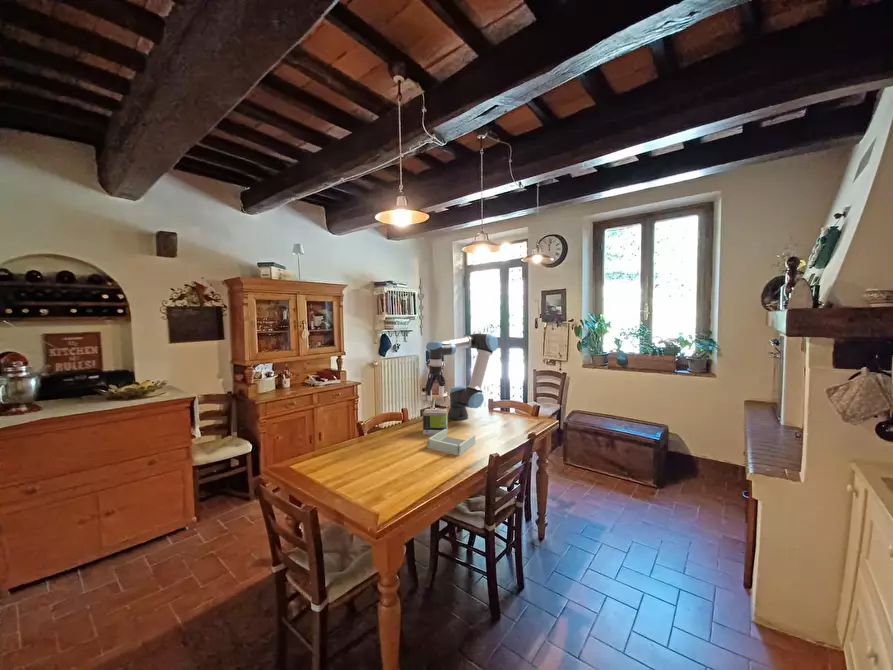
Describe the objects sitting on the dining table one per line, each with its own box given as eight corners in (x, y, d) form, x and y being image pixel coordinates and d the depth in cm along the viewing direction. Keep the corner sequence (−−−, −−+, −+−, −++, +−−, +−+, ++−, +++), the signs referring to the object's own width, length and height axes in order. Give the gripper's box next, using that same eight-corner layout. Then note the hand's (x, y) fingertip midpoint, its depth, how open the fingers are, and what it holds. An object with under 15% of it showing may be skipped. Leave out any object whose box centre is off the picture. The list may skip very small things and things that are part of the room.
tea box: (447, 430, 241) (447, 408, 240) (446, 436, 231) (446, 413, 230) (425, 429, 242) (425, 408, 241) (422, 435, 232) (422, 412, 231)
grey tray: (444, 437, 228) (445, 428, 228) (475, 444, 218) (475, 435, 217) (427, 448, 211) (427, 439, 211) (459, 455, 201) (459, 446, 200)
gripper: (440, 362, 246) (440, 393, 247) (419, 367, 224) (419, 401, 226) (450, 363, 242) (450, 394, 243) (430, 368, 220) (429, 403, 222)
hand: (435, 398), depth 235 cm, fingers open, 13 cm apart
